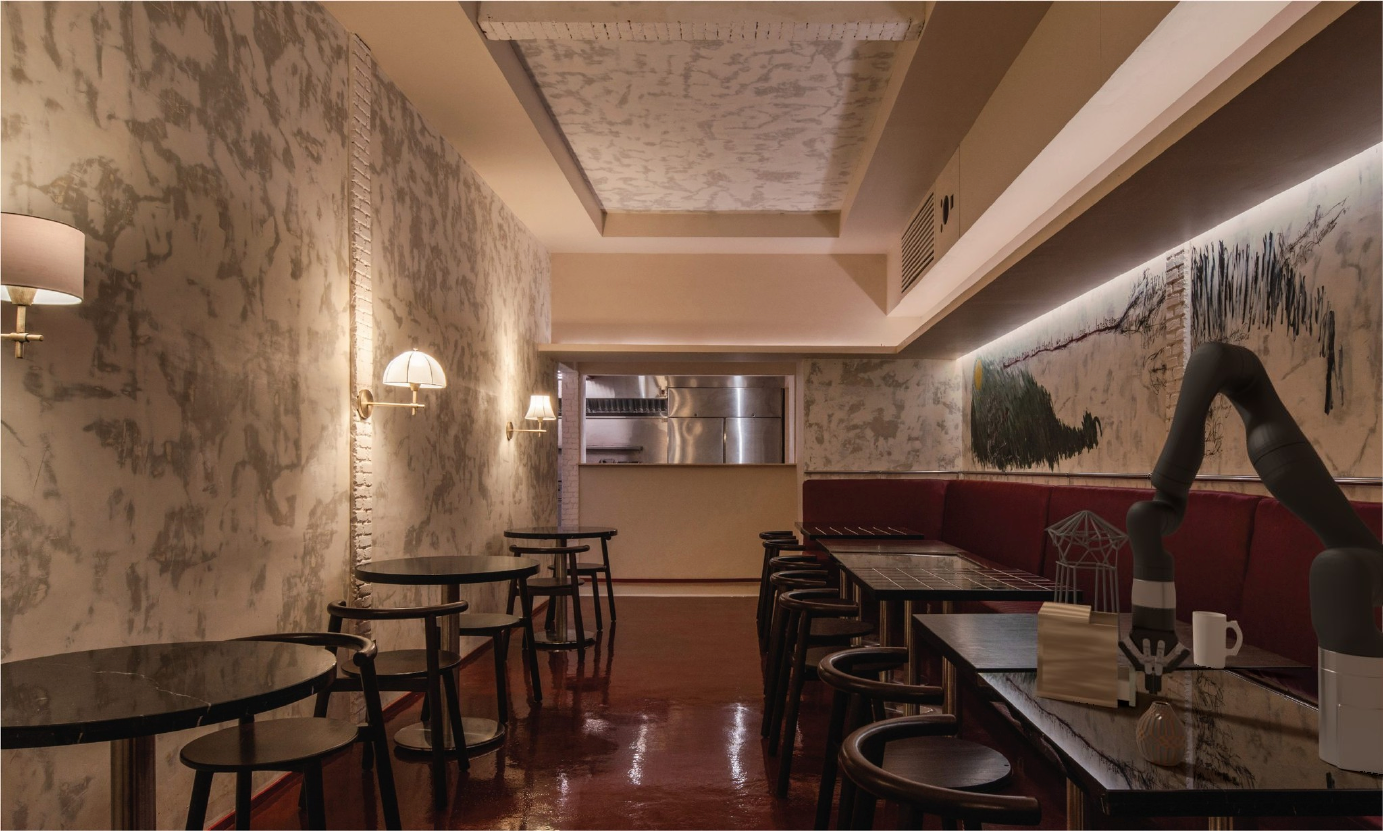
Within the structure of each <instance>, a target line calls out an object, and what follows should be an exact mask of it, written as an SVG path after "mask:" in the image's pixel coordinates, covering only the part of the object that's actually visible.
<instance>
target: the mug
mask: <svg viewBox="0 0 1383 831" xmlns="http://www.w3.org/2000/svg"><path fill="white" fill-rule="evenodd" d="M1228 628H1232V629H1233V630H1234V632H1235V633H1236V638H1237V639H1236V643H1235V644H1234V646H1233V647H1232V648H1227V645H1226V641H1227V639H1226V638H1227V629H1228ZM1192 632H1193V633H1192V634H1193V635H1192V640H1193V641H1192V642H1193V648H1192V649H1193V664H1194V665H1196V664H1197V665H1196V666H1198V665H1199V667H1202V666H1206V667H1205V668H1208V667H1211V668H1210V669H1225V668H1224V667H1226V657H1229V656H1232V657H1233V656H1234V657H1236V656H1237V655H1238V652H1239V650H1240V649H1241V646H1242V644H1243V632H1242V630H1241V627H1240V626H1239V624H1238V620H1230V621H1227V615H1226V614H1223V613H1219V612H1212V611H1201V610H1200V611H1198V610H1197V611H1193V612H1192Z"/></svg>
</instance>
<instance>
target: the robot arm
mask: <svg viewBox="0 0 1383 831" xmlns="http://www.w3.org/2000/svg"><path fill="white" fill-rule="evenodd" d="M1181 381H1182V382H1181V385H1180V388H1179V389H1180V390H1179V393H1178V397H1177V401H1176V405H1175V410H1174V413H1173V417H1172V421H1171V426H1170V429H1169V431H1168V434H1167V437H1166V440H1165V443H1164V446H1163V448H1162V449H1161V452H1160V454H1159V456H1158V459H1157V461H1156V463H1155V466H1154V468H1153V469H1152V470H1153V471H1152V473H1151V475H1150V481H1149V482H1150V484H1151V486H1152V487H1153V488H1155V491H1154V496H1153V498H1152V500H1139V501H1136V502H1134V503H1133V504H1132V505H1131V506H1130V507H1129V509H1128V511H1127V512H1126V514H1127V515H1126V518H1125V525H1126V527H1125V528H1126V534H1127V535H1128V537H1129V539H1128V541H1129V545H1130V549H1131V552H1132V555H1133V579H1132V580H1133V581H1132V582H1133V583H1132V588H1131V598H1130V599H1131V629H1130V631H1129V632H1128V636H1127V637H1125V638H1123V639H1121V640H1119V641H1118V649H1120V650H1121V652H1122V653H1123V655H1125V657H1126V658H1127V660H1128V659H1129V661H1130V662H1131V663H1132V664H1133V666H1134V667H1135V670H1139V671H1141V672H1143V673H1144V689H1145V691H1148V695H1154V696H1155V695H1157V696H1158V693H1161V692H1162V687H1163V686H1162V685H1163V681H1162V679H1163V678H1162V677H1163V675H1167V674H1170V675H1171V674H1172V673H1173V672H1174V671H1175V670H1177V668H1179V666H1181V664H1183V662H1184V661H1185V660H1187V658H1188V657H1190V656H1191V650H1190V648H1189V647H1185V645H1183V644H1182V643H1181V642H1180V640H1179V636H1178V634H1177V633H1176V632H1177V631H1176V630H1177V625H1176V624H1177V621H1176V620H1177V619H1176V618H1177V613H1176V612H1177V611H1176V609H1177V608H1176V606H1177V598H1176V597H1177V595H1176V588H1175V587H1176V585H1175V559H1174V555H1173V554H1172V552H1170V551H1169V550H1166V549H1165V548H1164V541H1163V538H1164V537H1169V536H1172V535H1173V534H1175V533H1177V531H1178V530H1179V529H1180V527H1182V524H1183V522H1184V520H1185V518H1186V513H1187V507H1188V504H1189V503H1188V501H1189V494H1190V490H1191V488H1192V486H1193V483H1194V482H1195V480H1196V477H1197V475H1198V473H1199V470H1200V468H1201V466H1202V463H1203V461H1204V457H1205V452H1206V422H1207V416H1208V414H1209V410H1210V407H1211V405H1212V403H1213V401H1214V400H1215V398H1216V396H1217V394H1223V395H1224V397H1226V398H1227V399H1228V401H1229V402H1230V403H1231V405H1232V406H1233V407H1234V408H1235V410H1236V411H1237V413H1238V415H1239V416H1240V418H1241V420H1242V423H1243V425H1244V428H1245V441H1246V442H1245V443H1246V452H1247V457H1248V459H1249V461H1250V463H1251V465H1252V467H1253V469H1254V471H1255V473H1257V475H1258V477H1259V479H1260V480H1261V482H1262V484H1263V486H1264V487H1265V489H1266V490H1267V491H1268V492H1269V493H1270V495H1272V497H1273V498H1275V500H1277V502H1278V503H1280V504H1281V505H1282V506H1283V507H1284V508H1286V509H1287V510H1288V511H1289V512H1291V513H1292V514H1293V515H1294V516H1295V517H1297V518H1298V519H1299V520H1300V521H1301V522H1303V523H1304V524H1305V525H1306V526H1308V528H1310V529H1311V531H1312V532H1313V533H1314V534H1315V535H1316V536H1317V537H1318V538H1319V540H1320V541H1321V543H1322V545H1323V546H1324V548H1325V550H1322V551H1320V553H1318V554H1317V555H1316V556H1315V557H1314V558H1313V561H1312V563H1311V566H1310V569H1309V577H1308V578H1309V583H1308V584H1309V589H1308V590H1309V599H1310V602H1309V603H1310V617H1311V625H1312V627H1313V629H1314V632H1315V634H1316V637H1317V643H1318V647H1317V648H1318V650H1317V651H1318V654H1317V656H1318V658H1317V659H1318V662H1317V664H1318V666H1317V667H1318V670H1317V672H1318V673H1317V677H1318V678H1317V680H1318V682H1317V683H1318V684H1317V685H1318V690H1317V691H1318V745H1319V746H1318V757H1319V759H1321V760H1322V761H1324V762H1326V763H1328V764H1331V765H1333V766H1336V767H1337V768H1339V769H1343V770H1348V771H1356V772H1360V771H1363V772H1362V773H1367V772H1371V773H1370V774H1373V772H1374V773H1378V774H1377V775H1379V774H1383V632H1382V630H1381V631H1380V629H1379V628H1378V626H1377V625H1376V621H1375V614H1374V613H1375V612H1374V611H1375V610H1374V608H1379V607H1383V543H1382V542H1381V540H1380V539H1379V538H1378V537H1377V535H1375V533H1374V532H1373V531H1372V530H1371V529H1370V528H1369V526H1368V525H1367V524H1366V522H1365V521H1364V520H1363V519H1362V518H1361V516H1360V514H1358V513H1357V511H1356V510H1355V508H1354V506H1353V505H1352V503H1351V502H1350V500H1349V499H1348V498H1347V496H1346V495H1345V493H1344V491H1343V490H1342V488H1341V487H1340V486H1339V484H1338V483H1337V482H1336V480H1335V479H1334V477H1333V476H1332V475H1331V473H1330V471H1329V469H1328V467H1327V466H1326V464H1325V463H1324V461H1323V459H1322V458H1321V457H1320V455H1319V454H1318V452H1317V450H1316V449H1315V447H1314V446H1313V445H1312V443H1311V441H1310V440H1309V439H1308V438H1307V436H1306V435H1305V433H1304V432H1303V431H1302V429H1301V428H1300V426H1299V425H1298V423H1297V421H1296V420H1295V418H1294V417H1293V415H1292V414H1291V413H1290V411H1289V410H1288V409H1287V407H1286V406H1285V404H1284V403H1283V401H1282V400H1281V398H1280V396H1279V394H1278V393H1277V391H1276V389H1275V386H1274V384H1273V383H1272V380H1271V379H1270V376H1269V374H1268V372H1267V370H1266V368H1265V367H1264V364H1263V363H1262V361H1261V360H1260V358H1259V356H1258V355H1257V354H1256V353H1255V352H1254V351H1253V350H1252V349H1250V348H1247V347H1245V346H1242V345H1238V344H1234V343H1233V344H1232V343H1227V342H1224V341H1217V340H1215V341H1214V340H1213V341H1212V340H1211V341H1206V342H1204V343H1200V345H1198V346H1197V347H1196V348H1195V349H1194V350H1193V351H1192V352H1191V354H1190V355H1189V358H1188V360H1187V363H1186V365H1185V369H1184V373H1183V376H1182V380H1181ZM1132 644H1133V645H1134V646H1135V648H1136V649H1137V651H1138V652H1139V653H1140V654H1141V655H1143V662H1141V661H1140V660H1139V658H1138V657H1137V656H1136V655H1135V653H1134V652H1133V650H1132V648H1133V645H1132ZM1174 649H1175V650H1174ZM1173 650H1174V652H1175V655H1174V657H1173V658H1172V659H1171V660H1170V661H1169V662H1168V663H1167V664H1166V665H1164V658H1166V657H1167V656H1168V655H1169V654H1170V653H1171V652H1173ZM1152 657H1155V660H1154V669H1153V664H1152ZM1364 771H1365V772H1364Z"/></svg>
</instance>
